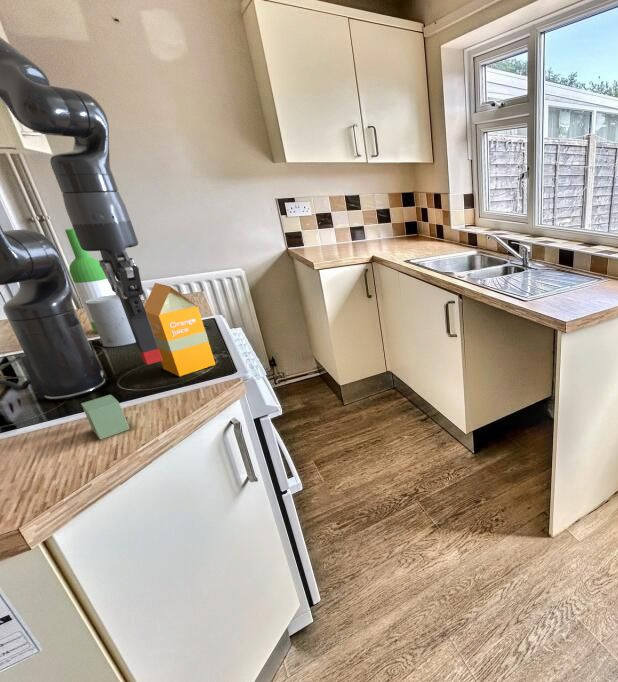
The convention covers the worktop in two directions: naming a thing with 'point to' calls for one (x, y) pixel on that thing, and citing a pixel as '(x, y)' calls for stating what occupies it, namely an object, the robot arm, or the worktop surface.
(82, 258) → the wine bottle
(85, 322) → the worktop surface
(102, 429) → the block
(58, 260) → the robot arm
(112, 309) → the grey speckled cylinder
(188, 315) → the orange juice
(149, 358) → the marker
